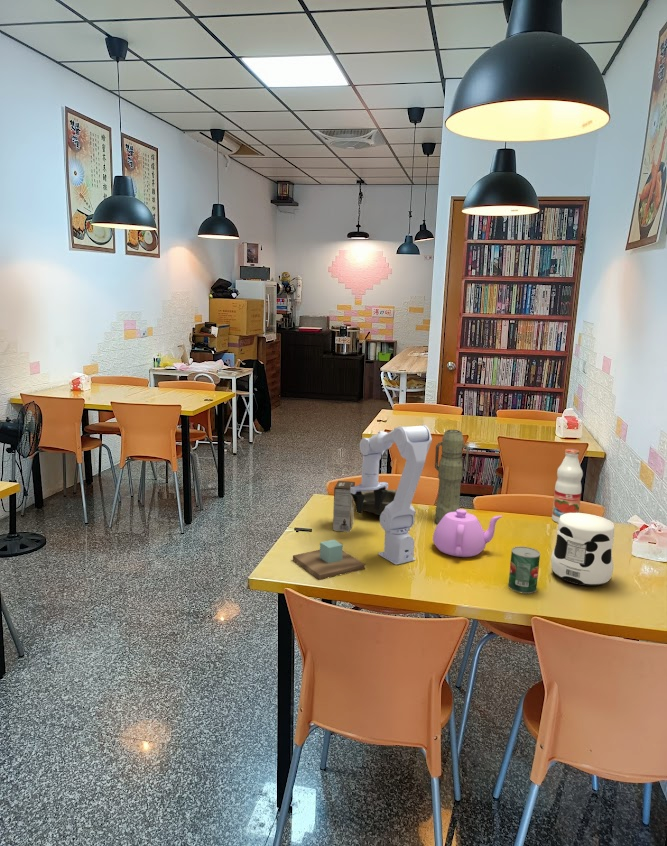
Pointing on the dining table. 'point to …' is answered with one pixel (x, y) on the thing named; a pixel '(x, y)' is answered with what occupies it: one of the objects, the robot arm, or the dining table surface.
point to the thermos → (450, 472)
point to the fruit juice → (567, 486)
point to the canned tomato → (524, 569)
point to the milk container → (583, 549)
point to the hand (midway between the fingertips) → (368, 511)
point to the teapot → (462, 534)
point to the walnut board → (325, 570)
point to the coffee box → (343, 506)
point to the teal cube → (331, 551)
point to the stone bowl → (370, 501)
